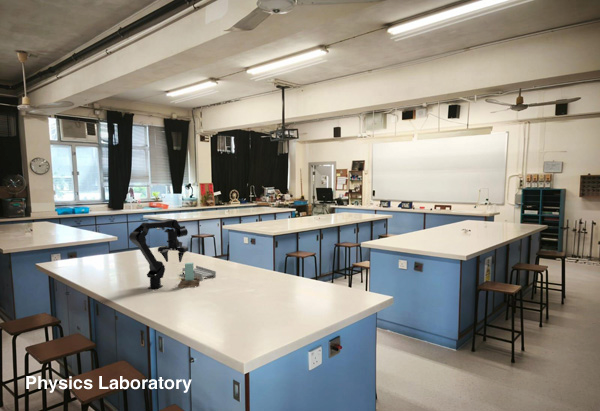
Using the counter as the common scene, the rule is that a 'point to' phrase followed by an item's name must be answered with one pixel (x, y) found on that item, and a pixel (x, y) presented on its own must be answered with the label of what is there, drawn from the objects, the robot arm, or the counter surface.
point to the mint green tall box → (189, 271)
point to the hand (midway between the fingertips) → (173, 262)
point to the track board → (189, 282)
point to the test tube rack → (203, 272)
